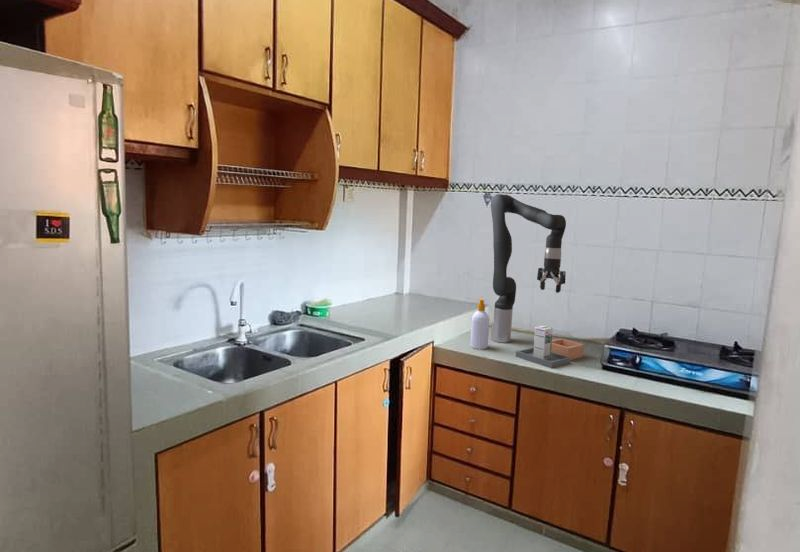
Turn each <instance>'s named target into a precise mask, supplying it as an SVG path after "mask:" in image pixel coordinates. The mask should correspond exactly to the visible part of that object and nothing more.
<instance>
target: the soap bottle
mask: <svg viewBox="0 0 800 552" xmlns="http://www.w3.org/2000/svg"><path fill="white" fill-rule="evenodd" d="M478 300H479V301H478V302H479V303H478V305H477V310H476V311H475V312H474V313H473V314H472V317H471V326H470V342H469V344H470V345H469V346H470V347H471V348H473V349H477V350H485V349H487V348H488V347H489V331H490V316H489V314H488V313H487V312H486V311H485V310H486V305H485V299H483V298H482V297H480V299H478Z"/></svg>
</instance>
